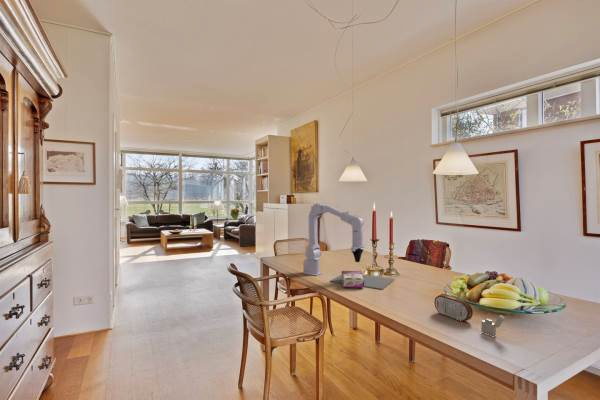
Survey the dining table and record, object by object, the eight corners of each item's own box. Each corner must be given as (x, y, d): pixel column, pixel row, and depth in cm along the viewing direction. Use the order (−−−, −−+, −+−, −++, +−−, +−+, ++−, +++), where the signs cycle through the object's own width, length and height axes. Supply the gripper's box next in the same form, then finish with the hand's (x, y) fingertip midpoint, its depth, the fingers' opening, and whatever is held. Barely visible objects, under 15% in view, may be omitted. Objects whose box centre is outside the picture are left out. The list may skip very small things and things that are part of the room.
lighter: (481, 333, 113) (481, 310, 113) (483, 331, 114) (483, 309, 114) (502, 340, 107) (502, 317, 107) (505, 339, 108) (505, 316, 108)
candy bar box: (341, 279, 183) (342, 287, 167) (341, 270, 183) (342, 277, 167) (361, 279, 182) (364, 288, 166) (361, 270, 182) (364, 278, 166)
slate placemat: (330, 281, 180) (330, 280, 180) (346, 273, 199) (346, 272, 199) (382, 289, 164) (382, 288, 164) (394, 279, 183) (394, 278, 183)
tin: (473, 323, 121) (473, 301, 121) (468, 325, 120) (468, 302, 120) (437, 311, 134) (437, 291, 134) (433, 312, 133) (433, 292, 132)
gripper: (359, 240, 174) (359, 265, 175) (368, 237, 187) (368, 260, 187) (347, 239, 178) (347, 263, 178) (357, 236, 190) (357, 259, 191)
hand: (357, 262), depth 183 cm, fingers closed
